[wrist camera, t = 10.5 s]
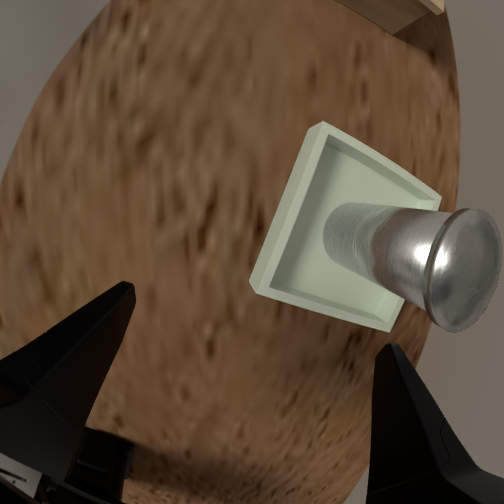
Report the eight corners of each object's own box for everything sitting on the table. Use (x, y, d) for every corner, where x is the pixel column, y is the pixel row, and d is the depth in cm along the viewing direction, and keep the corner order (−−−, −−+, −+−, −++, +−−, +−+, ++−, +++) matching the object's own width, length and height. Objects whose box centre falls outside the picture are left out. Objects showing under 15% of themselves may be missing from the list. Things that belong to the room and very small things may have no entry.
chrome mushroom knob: (351, 284, 21) (458, 351, 10) (303, 239, 20) (412, 288, 9) (392, 231, 21) (510, 262, 10) (350, 182, 19) (476, 182, 9)
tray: (373, 320, 23) (389, 332, 20) (248, 281, 20) (255, 293, 18) (421, 195, 21) (441, 196, 19) (308, 128, 19) (323, 120, 16)
